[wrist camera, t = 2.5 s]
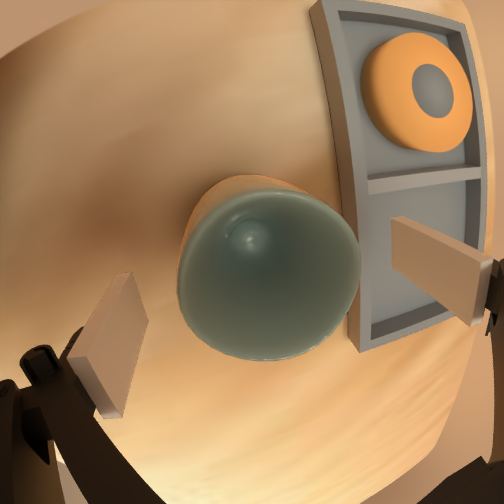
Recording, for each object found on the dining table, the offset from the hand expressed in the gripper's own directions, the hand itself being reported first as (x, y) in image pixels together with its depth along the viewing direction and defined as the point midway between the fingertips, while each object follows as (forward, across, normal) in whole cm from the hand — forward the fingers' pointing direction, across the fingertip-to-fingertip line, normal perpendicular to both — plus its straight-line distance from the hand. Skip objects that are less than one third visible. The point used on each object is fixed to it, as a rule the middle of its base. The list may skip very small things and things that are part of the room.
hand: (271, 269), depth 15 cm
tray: (+8, +14, +2) cm, 16 cm away
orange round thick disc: (+7, +14, +8) cm, 18 cm away
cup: (+8, 0, 0) cm, 8 cm away
